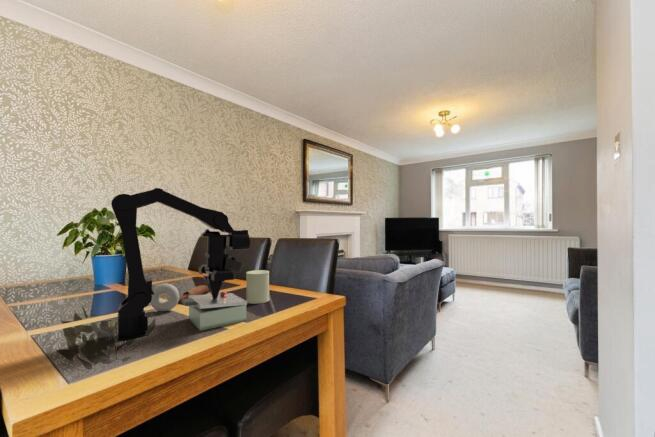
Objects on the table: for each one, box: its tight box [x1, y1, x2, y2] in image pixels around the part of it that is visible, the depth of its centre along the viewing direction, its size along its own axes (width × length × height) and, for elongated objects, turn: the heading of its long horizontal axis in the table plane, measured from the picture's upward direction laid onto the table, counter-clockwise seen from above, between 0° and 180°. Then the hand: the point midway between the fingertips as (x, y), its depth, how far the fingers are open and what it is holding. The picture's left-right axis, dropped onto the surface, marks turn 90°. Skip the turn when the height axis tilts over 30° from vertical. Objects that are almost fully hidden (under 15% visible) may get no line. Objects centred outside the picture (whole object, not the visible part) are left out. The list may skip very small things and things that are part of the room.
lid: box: [181, 291, 248, 309], centre depth 93 cm, size 17×14×2 cm
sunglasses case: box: [177, 284, 210, 305], centre depth 122 cm, size 18×7×7 cm, turn 2°
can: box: [245, 269, 270, 305], centre depth 117 cm, size 9×9×12 cm
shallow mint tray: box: [188, 305, 247, 332], centre depth 94 cm, size 14×14×5 cm
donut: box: [149, 282, 181, 312], centre depth 103 cm, size 10×4×10 cm, turn 97°
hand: (214, 298), depth 94 cm, fingers closed, pressing on lid
